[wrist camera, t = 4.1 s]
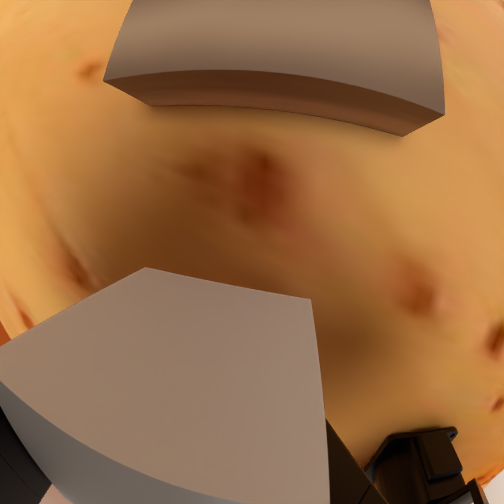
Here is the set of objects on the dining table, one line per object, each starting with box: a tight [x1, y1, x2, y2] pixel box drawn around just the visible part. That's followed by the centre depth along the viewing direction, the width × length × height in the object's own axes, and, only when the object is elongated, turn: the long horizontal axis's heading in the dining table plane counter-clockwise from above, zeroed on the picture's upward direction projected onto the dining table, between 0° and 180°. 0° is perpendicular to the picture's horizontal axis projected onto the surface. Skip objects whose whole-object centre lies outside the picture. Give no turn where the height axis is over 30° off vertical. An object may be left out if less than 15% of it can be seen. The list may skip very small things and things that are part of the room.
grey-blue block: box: [0, 267, 330, 504], centre depth 5 cm, size 5×5×6 cm
